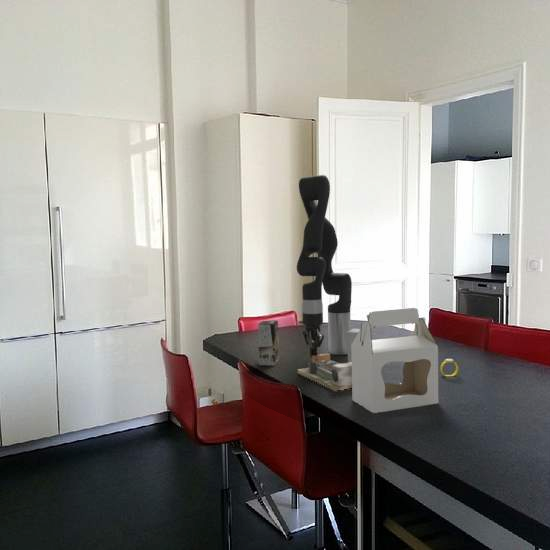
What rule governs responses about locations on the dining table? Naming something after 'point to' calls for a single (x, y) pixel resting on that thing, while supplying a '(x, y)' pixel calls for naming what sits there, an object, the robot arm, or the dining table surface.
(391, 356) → the gable box
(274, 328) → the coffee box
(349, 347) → the supplement box
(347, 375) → the gauge frame
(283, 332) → the dining table surface
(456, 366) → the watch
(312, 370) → the gauge marker
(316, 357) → the gauge plunger
